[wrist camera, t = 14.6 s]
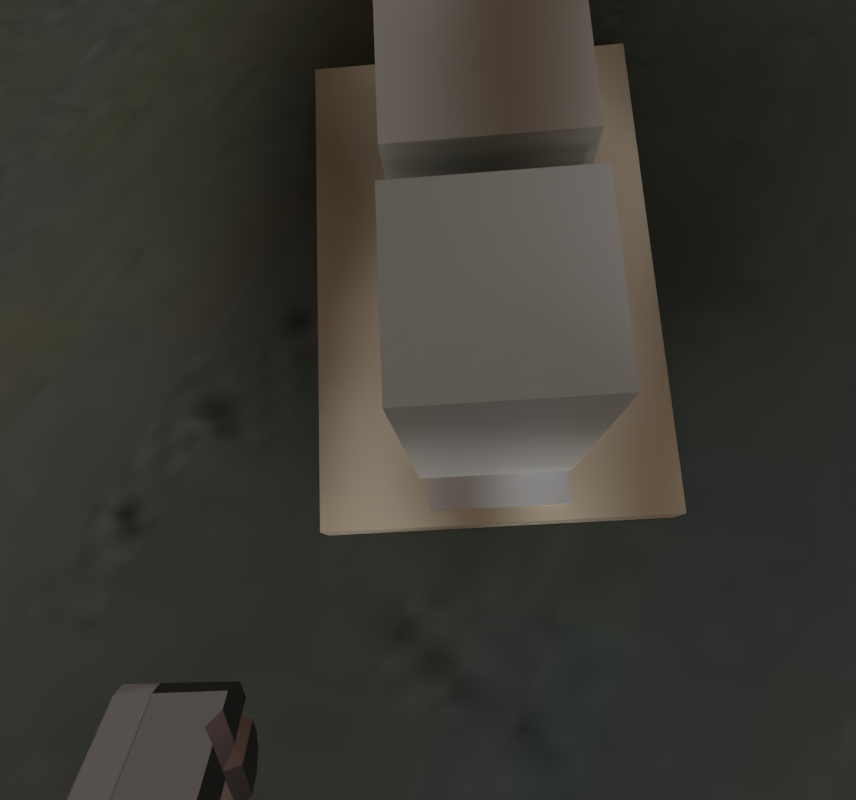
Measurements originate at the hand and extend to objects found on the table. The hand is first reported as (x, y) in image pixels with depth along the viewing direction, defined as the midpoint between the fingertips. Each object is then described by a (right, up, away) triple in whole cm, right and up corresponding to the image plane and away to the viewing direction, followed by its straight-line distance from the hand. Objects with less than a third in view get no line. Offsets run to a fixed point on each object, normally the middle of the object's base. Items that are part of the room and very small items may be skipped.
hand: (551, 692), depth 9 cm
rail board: (0, +8, +18) cm, 20 cm away
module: (0, +4, +15) cm, 15 cm away
